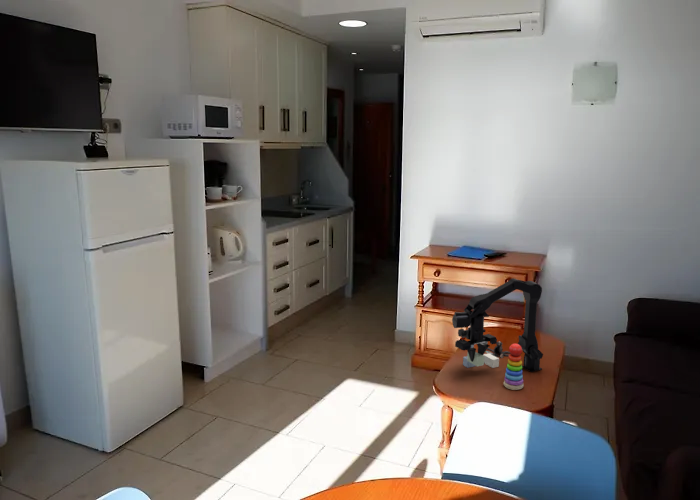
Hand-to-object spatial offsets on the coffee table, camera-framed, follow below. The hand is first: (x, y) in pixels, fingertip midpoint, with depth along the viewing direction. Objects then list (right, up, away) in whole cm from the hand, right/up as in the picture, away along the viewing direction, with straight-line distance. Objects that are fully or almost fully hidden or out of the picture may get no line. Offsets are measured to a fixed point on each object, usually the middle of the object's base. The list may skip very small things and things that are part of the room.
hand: (475, 360), depth 237 cm
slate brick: (0, -4, +10) cm, 10 cm away
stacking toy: (+13, -8, -12) cm, 20 cm away
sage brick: (0, -1, 0) cm, 1 cm away
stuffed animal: (+16, -2, +23) cm, 29 cm away
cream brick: (+9, -4, +10) cm, 14 cm away
